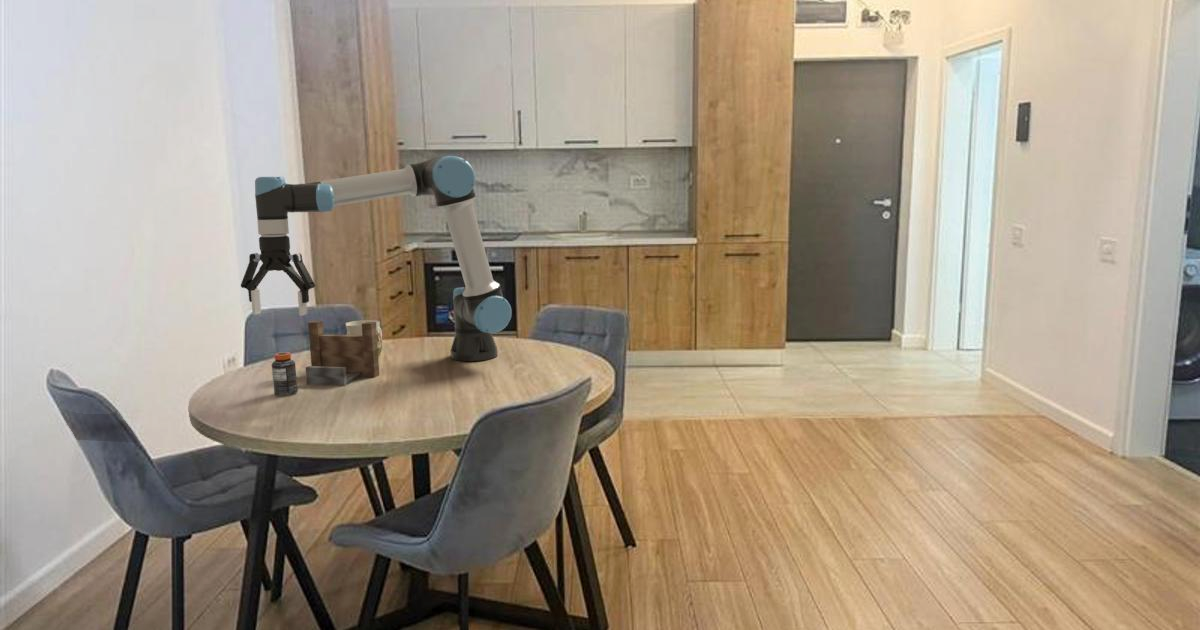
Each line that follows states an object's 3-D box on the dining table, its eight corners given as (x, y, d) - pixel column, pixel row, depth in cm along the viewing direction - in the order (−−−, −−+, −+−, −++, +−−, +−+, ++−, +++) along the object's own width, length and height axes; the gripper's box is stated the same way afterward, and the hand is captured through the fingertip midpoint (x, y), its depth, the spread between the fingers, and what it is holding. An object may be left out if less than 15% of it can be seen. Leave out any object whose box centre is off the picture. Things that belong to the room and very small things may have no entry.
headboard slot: (379, 374, 231) (375, 321, 229) (358, 386, 219) (354, 330, 216) (317, 372, 235) (313, 320, 232) (293, 383, 222) (288, 328, 220)
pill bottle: (292, 389, 216) (289, 349, 214) (301, 393, 212) (298, 353, 210) (270, 394, 212) (267, 353, 210) (279, 398, 208) (275, 356, 206)
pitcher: (397, 357, 254) (394, 316, 252) (366, 370, 237) (363, 326, 235) (367, 356, 257) (364, 315, 255) (335, 368, 240) (332, 325, 238)
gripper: (324, 234, 209) (329, 312, 212) (239, 234, 213) (246, 311, 216) (310, 236, 201) (315, 317, 205) (222, 236, 205) (229, 315, 209)
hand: (280, 314), depth 211 cm, fingers open, 13 cm apart
